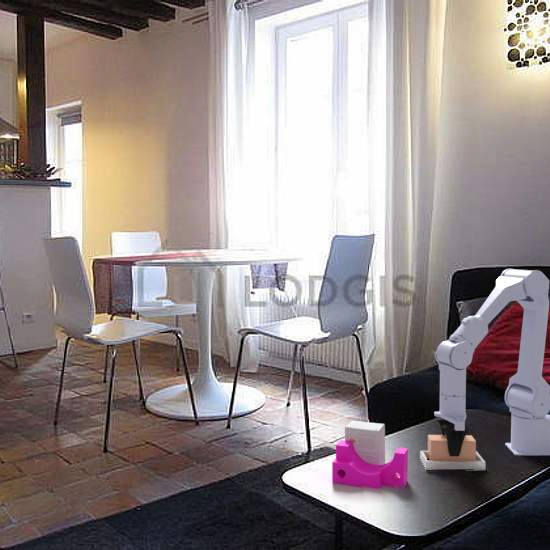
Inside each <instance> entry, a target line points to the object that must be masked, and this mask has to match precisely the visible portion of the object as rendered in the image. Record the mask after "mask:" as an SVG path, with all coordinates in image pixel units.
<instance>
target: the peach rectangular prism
mask: <svg viewBox="0 0 550 550" xmlns="http://www.w3.org/2000/svg"><path fill="white" fill-rule="evenodd" d="M476 448H477V441H476V439H475V438H474V436H472V435H467V434H466V436H465V438H464V441H463V444H462V448H461V452H460V455H459V456H450V455H449V451H448V444H447V438H446V435H442V434H427V451H428V458H429V460H428V461H476V451H477V449H476Z"/></svg>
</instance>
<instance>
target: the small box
mask: <svg viewBox="0 0 550 550" xmlns="http://www.w3.org/2000/svg"><path fill="white" fill-rule="evenodd" d="M385 427H386V425H385V423H377V422H368V421H358V420H351V421H350V422H349V423H348V424H347V425H346V426H345V427H344V440H345V441H353V446H354V449H355V451H356V453H357V454H358V455H359V456H360V458H362V459H363V460H364V461H366V462H368V463H370V464H373V465H383V464H386V428H385Z"/></svg>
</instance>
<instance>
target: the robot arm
mask: <svg viewBox="0 0 550 550" xmlns="http://www.w3.org/2000/svg"><path fill="white" fill-rule="evenodd" d="M549 287H550V280H549V278H548V277H547V276H546V275H545V274H544V273H543V272H542V271H540V270H539V269H538V270H537V269H535V270H532V269H531V270H528V269H514V268H506V269H504V270H503V271H502V273H501V274H500V276H498V278H497V279H496V280H495V287H494V288H493V290H492V291H491V292H490V294H489V296H488V297H487V298H486V300H485V301H484V303H483V304H482V305H481V307H480V308H479V309H478V311H477V312H476V313H475V315H469V316H467V317H464V318H463V319H462V320H461V324H460V326H458V327H457V329H456V330H455V331H454V332H453V333H452V334H450V336H449V338H448V339H447V340H445V341H442V342H441V343H440V344H439V345H438V346H437V348H436V351H434V358H435V360H436V362H437V364H438V370H439V411H434V412H433V413H434V414H433V415H434V417H436V420H437V423H438V425H439V428H440V431H441V435H446V438H447V444H448V451H449V455H450V456H459V455H460V452H461V448H462V444H463V441H464V438H465V436H466V435H467V434H468V433H469V431H470V428H469V427H468V425H465V424H466V423H465V421H466V419H467V413H466V411H467V410H466V408H467V407H466V401H467V399H466V398H467V397H466V395H467V394H466V393H467V390H466V389H467V387H466V386H467V367H469V365H471V363H472V361H473V355H474V353H475V349H476V348H477V347H478V345H479V344H480V343H481V342H482V341H483V339H484V338H485V337H486V336H487V334H488V333H489V324H490V323H491V321H492V320H493V319H494V318H495V317H496V316H497V315H499V313H500V312H501V311H502V310H503V309H504V308H505V307H506V306H507V305H508V304H509V303H510V302H513V301H514V302H515V301H516V302H517V303H518V304H519V305H520V306H521V307H522V308H523V315H522V316H523V318H522V326H521V336H520V346H519V355H518V363H517V364H518V365H517V372H516V373H515V374H514V375H512V376H511V377H509V380H508V381H509V382H508V386H507V387H506V390H505V391H504V392H505V393H504V402H505V405H506V406H507V407H508V408H509V412H511V416H510V417H511V418H510V419H511V420H510V423H511V424H510V427H511V428H510V442H505V444H504V445H505V446H506V447H507V448H508V449H509V450H510V452H512V453H513V455H514V456H550V414H549V412H550V384H548V382H547V381H546V380H545V378H544V377H543V366H544V359H545V358H544V357H545V351H546V350H545V348H546V339H547V329H548V319H549V311H550V299H549V289H550V288H549Z"/></svg>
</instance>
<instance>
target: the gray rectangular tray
mask: <svg viewBox="0 0 550 550" xmlns="http://www.w3.org/2000/svg"><path fill="white" fill-rule="evenodd" d="M420 459H421V460H420ZM427 459H429V458H428V450H420V451H419V460H420V462H421V461H422V462H421V464H422V463H423V464H422V466H423V465H424V466H423V468H424V467H425V468H424V470H425V469H426V470H433V469H434V470H435V469H474V470H473V471H486V461H485V459H483V457H482V456H481V454H479V452H478V451H477V450H476V461H430V460H427ZM426 470H425V471H426Z"/></svg>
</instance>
